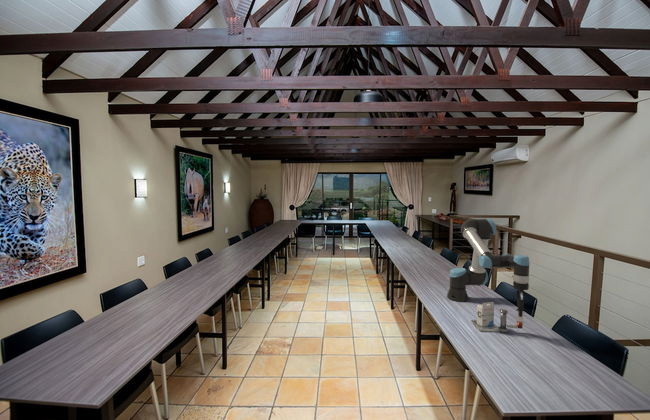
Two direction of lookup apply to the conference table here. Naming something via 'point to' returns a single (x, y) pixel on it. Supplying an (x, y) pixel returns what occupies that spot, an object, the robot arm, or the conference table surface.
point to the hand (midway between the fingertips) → (520, 321)
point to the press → (494, 328)
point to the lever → (519, 325)
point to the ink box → (485, 314)
